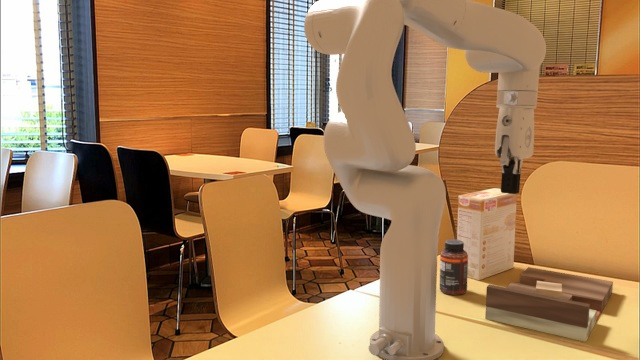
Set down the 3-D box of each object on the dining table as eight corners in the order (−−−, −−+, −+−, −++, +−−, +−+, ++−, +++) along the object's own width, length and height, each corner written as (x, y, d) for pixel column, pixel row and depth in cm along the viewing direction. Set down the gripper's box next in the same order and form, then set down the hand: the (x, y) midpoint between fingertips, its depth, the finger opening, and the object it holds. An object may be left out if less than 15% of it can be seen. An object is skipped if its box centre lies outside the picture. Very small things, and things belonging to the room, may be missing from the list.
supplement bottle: (464, 287, 128) (466, 238, 126) (468, 296, 122) (471, 245, 120) (437, 286, 129) (439, 237, 127) (440, 295, 123) (442, 244, 121)
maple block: (560, 314, 106) (561, 291, 105) (534, 310, 108) (535, 288, 107) (560, 306, 110) (561, 283, 109) (535, 302, 112) (536, 280, 111)
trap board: (585, 341, 100) (588, 306, 99) (485, 318, 110) (486, 286, 109) (612, 292, 124) (614, 263, 123) (527, 277, 135) (529, 250, 134)
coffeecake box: (490, 261, 147) (493, 187, 144) (514, 268, 141) (519, 191, 138) (454, 273, 137) (457, 194, 134) (479, 281, 132) (482, 198, 129)
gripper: (524, 100, 103) (516, 199, 106) (547, 102, 115) (539, 191, 118) (484, 99, 108) (477, 194, 110) (510, 101, 120) (504, 187, 122)
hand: (509, 192), depth 114 cm, fingers closed
